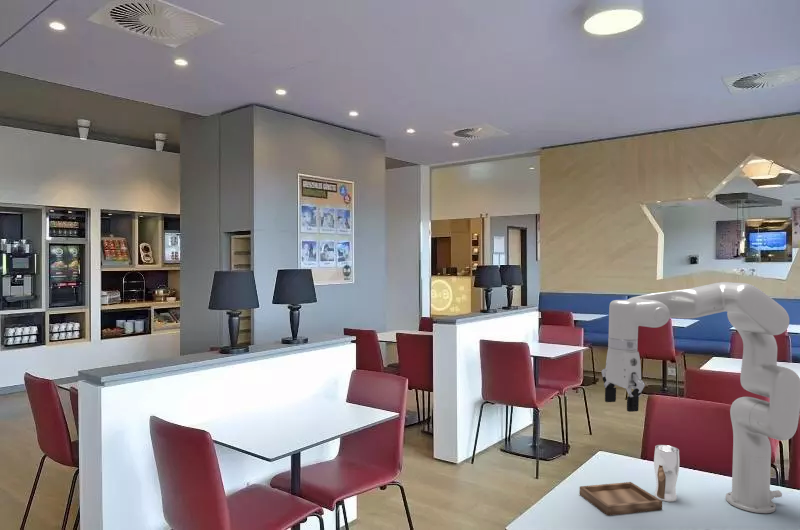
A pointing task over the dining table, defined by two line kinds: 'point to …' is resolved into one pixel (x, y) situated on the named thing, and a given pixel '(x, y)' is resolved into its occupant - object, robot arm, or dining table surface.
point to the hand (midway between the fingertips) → (621, 406)
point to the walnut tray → (620, 498)
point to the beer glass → (666, 472)
